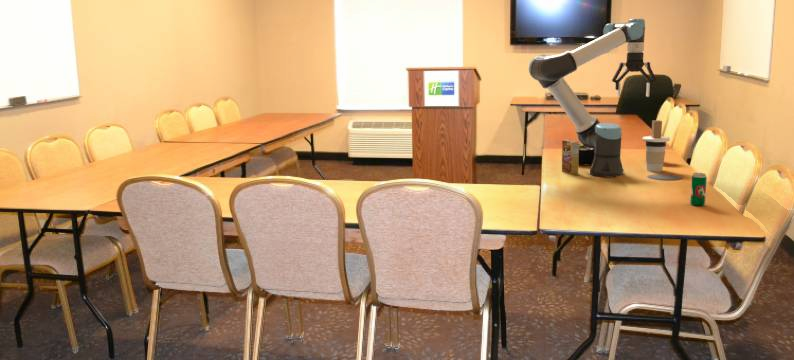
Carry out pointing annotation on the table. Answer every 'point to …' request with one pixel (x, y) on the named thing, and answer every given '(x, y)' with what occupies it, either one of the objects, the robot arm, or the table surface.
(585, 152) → the black container
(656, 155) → the coffee cup
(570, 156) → the candy box
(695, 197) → the soda can
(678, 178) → the mat
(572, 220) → the table surface
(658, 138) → the brown block on plate
